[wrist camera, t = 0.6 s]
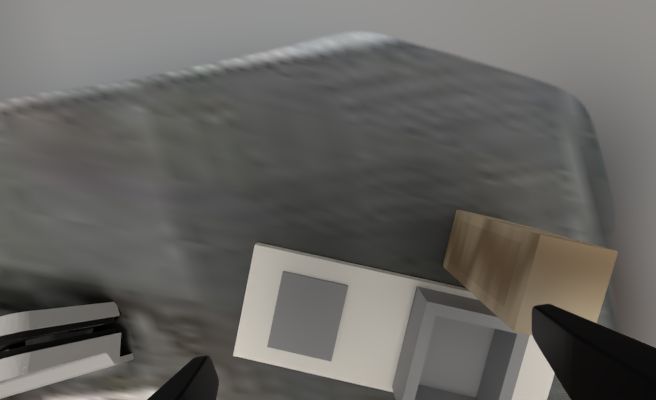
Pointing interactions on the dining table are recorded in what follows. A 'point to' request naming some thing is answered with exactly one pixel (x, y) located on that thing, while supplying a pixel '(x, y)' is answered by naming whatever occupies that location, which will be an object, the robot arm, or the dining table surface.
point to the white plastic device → (56, 345)
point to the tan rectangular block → (526, 269)
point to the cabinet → (383, 331)
